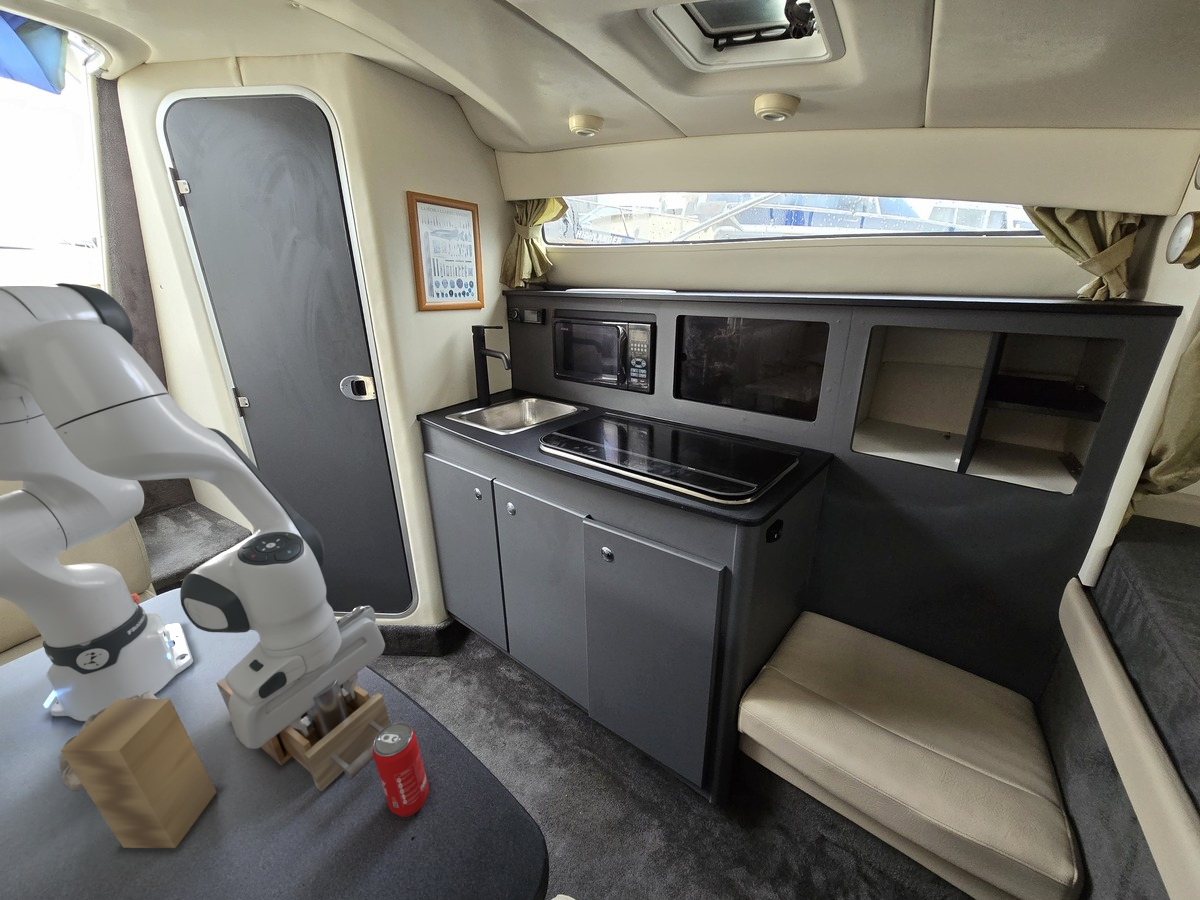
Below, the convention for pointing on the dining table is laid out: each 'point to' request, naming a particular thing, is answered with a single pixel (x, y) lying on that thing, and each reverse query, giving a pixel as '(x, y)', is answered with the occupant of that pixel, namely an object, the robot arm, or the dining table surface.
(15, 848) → the dining table surface
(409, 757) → the beverage can
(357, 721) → the drawer
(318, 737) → the tin
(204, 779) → the wooden block
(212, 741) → the dining table surface
